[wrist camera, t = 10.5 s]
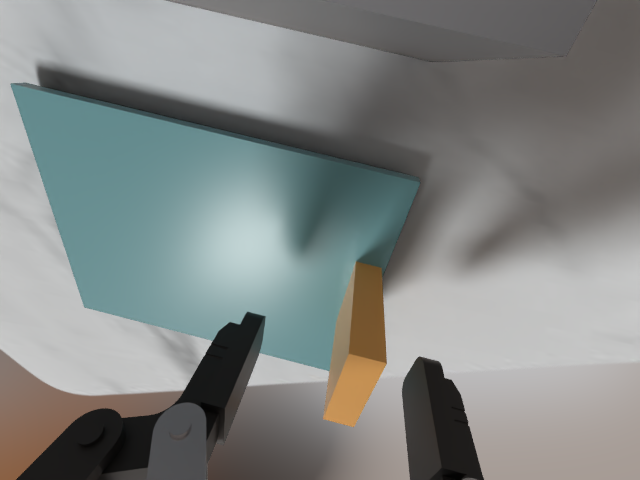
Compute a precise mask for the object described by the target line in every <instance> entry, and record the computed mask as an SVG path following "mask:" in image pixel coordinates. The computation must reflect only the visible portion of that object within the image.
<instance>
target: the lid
mask: <svg viewBox="0 0 640 480" xmlns="http://www.w3.org/2000/svg"><path fill="white" fill-rule="evenodd" d="M10 84H11V87H12V90H13V93H14V96H15V99H16V102H17V105H18V108H19V111H20V114H21V117H22V120H23V123H24V126H25V129H26V132H27V136H28V139H29V142H30V145H31V148H32V151H33V154H34V157H35V160H36V163H37V166H38V169H39V172H40V175H41V178H42V181H43V184H44V187H45V190H46V193H47V196H48V199H49V202H50V205H51V208H52V211H53V214H54V217H55V220H56V223H57V226H58V229H59V232H60V235H61V238H62V241H63V244H64V247H65V250H66V253H67V256H68V259H69V262H70V265H71V268H72V271H73V274H74V277H75V280H76V283H77V286H78V289H79V292H80V296H81V299H82V302H83V305H84V307H85V308H89V309H93V310H97V311H101V312H104V313H108V314H112V315H116V316H120V317H124V318H127V319H131V320H135V321H139V322H143V323H147V324H151V325H154V326H158V327H162V328H166V329H170V330H174V331H177V332H181V333H185V334H189V335H193V336H197V337H200V338H204V339H208V340H212V341H213V340H214V338H215V336H216V335H217V333H218V331H219V330H220V329H222V328H223V327H224V326H225V325H227V324H228V323H229V322H232V323H236V324H241V322H242V320H243V318H244V316H245V314H246V313H247V312H251V313H255V314H259V315H263V316H266V320H265V327H264V334H263V341H262V346H261V349H260V353H262V354H266V355H270V356H274V357H277V358H281V359H285V360H289V361H293V362H297V363H300V364H304V365H308V366H312V367H316V368H320V369H323V370H327V371H330V372H329V379H328V386H327V394H326V401H325V409H324V416H323V419H325V420H329V421H333V422H336V423H340V424H344V425H348V426H351V427H354V426H355V424H356V422H357V420H358V418H359V416H360V414H361V412H362V410H363V408H364V406H365V404H366V402H367V401H368V398H369V397H370V395H371V393H372V391H373V389H374V387H375V385H376V383H377V381H378V379H379V377H380V375H381V373H382V372H383V370H384V368H385V366H386V364H387V360H386V341H385V322H384V304H383V285H382V277H383V275H384V272H385V270H386V267H387V265H388V262H389V260H390V257H391V255H392V252H393V250H394V247H395V245H396V242H397V240H398V237H399V235H400V233H401V230H402V228H403V225H404V223H405V220H406V218H407V215H408V213H409V210H410V208H411V205H412V203H413V200H414V198H415V195H416V193H417V190H418V188H419V185H420V183H421V182H420V180H419V178H418V177H415V176H411V175H406V174H402V173H398V172H394V171H390V170H386V169H381V168H377V167H373V166H369V165H365V164H361V163H357V162H352V161H348V160H344V159H340V158H336V157H332V156H328V155H323V154H319V153H315V152H311V151H307V150H303V149H298V148H294V147H290V146H286V145H282V144H278V143H274V142H269V141H265V140H261V139H257V138H253V137H249V136H245V135H240V134H236V133H232V132H228V131H224V130H220V129H216V128H211V127H207V126H203V125H199V124H195V123H191V122H186V121H182V120H178V119H174V118H170V117H166V116H162V115H157V114H153V113H149V112H145V111H141V110H137V109H133V108H128V107H124V106H120V105H116V104H112V103H108V102H103V101H99V100H95V99H91V98H87V97H83V96H79V95H74V94H70V93H66V92H62V91H58V90H54V89H50V88H45V87H41V86H37V85H33V84H29V83H10Z"/></svg>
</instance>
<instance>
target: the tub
mask: <svg viewBox="0 0 640 480" xmlns="http://www.w3.org/2000/svg"><path fill="white" fill-rule="evenodd" d="M166 1H170V2H175V3H179V4H183V5H188V6H192V7H196V8H201V9H205V10H209V11H214V12H218V13H222V14H227V15H231V16H235V17H240V18H244V19H248V20H253V21H257V22H261V23H265V24H270V25H274V26H278V27H283V28H287V29H291V30H296V31H300V32H304V33H309V34H313V35H317V36H322V37H326V38H330V39H335V40H339V41H343V42H348V43H352V44H356V45H360V46H365V47H369V48H373V49H378V50H382V51H386V52H391V53H395V54H399V55H404V56H408V57H412V58H417V59H421V60H425V61H430V62H446V61H469V60H492V59H515V58H537V57H560V56H567V54H568V52H569V50H570V49H571V47H572V45H573V43H574V41H575V40H576V38H577V36H578V34H579V32H580V31H581V29H582V27H583V25H584V23H585V21H586V20H587V18H588V16H589V14H590V12H591V11H592V9H593V7H594V5H595V3H596V2H597V0H166Z"/></svg>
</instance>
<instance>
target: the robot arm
mask: <svg viewBox="0 0 640 480" xmlns="http://www.w3.org/2000/svg"><path fill="white" fill-rule="evenodd" d="M265 320H266V316H263V315H259V314H255V313H251V312H247V313H246V314H245V316H244V318H243V320H242V322H241V324H236V323H232V322H229V323H228V324H227V325H225V326H224V327H223V328H222V329H220V330H219V331H218V333H217V335H216V336H215V338H214V340H213V342H212V344H211V346H210V347H209V349H208V350H207V352H206V355H205V356H204V357H203V359H202V361H201V363H200V364H199V366H198V368H197V370H196V371H195V373H194V375H193V376H192V378H191V380H190V382H189V383H188V385H187V387H186V389H185V390H184V392H183V394H182V396H181V397H180V398H179V400H178V401H177V402H176V403H175V404H173V405H172V406H171V407H170V408H168V409H166V410H165V411H163V412H160V413H158V414H155V415H149V416H138V417H128V418H121V416H120V414H119V413H118V412H116V411H115V410H112V409H97V410H94V411H91V412H88V413H86V414H84V415H83V416H81V417H80V418H78V419H77V420H75V421H74V422H73V423H72V424H71V425H70V426H69V427H68V428H67V429H66V430H65V431H64V432H63V433H62V434H61V435H60V436H59V437H58V438H57V439H56V440H55V441H54V442H53V443H52V444H51V445H50V446H49V447H48V448H47V449H46V450H45V451H44V452H43V453H42V454H41V455H40V456H39V457H38V458H37V459H36V460H35V461H34V462H33V463H32V464H31V465H30V466H29V467H28V468H27V469H26V470H25V471H24V472H23V473H22V474H21V475H20V476H19V477H18V478H17V479H16V480H207V464H208V461H209V459H210V456H211V454H212V452H213V449H214V447H215V444H216V443H217V444H221V445H224V443H225V441H226V438H227V435H228V433H229V430H230V428H231V425H232V423H233V420H234V417H235V415H236V412H237V410H238V407H239V404H240V402H241V399H242V397H243V394H244V392H245V389H246V386H247V384H248V381H249V379H250V376H251V374H252V371H253V368H254V366H255V363H256V361H257V358H258V356H259V353H260V349H261V346H262V341H263V334H264V327H265ZM402 397H403V408H404V419H405V430H406V441H407V451H408V461H409V472H410V480H484V478H483V475H482V472H481V468H480V464H479V461H478V457H477V453H476V450H475V446H474V443H473V439H472V435H471V431H470V427H469V426H468V420H467V416H466V414H465V412H464V411H465V409H464V405H463V401H462V398H461V395H460V393H459V391H458V390H457V388H456V386H455V385H454V383H453V382H452V380H449V379H445V378H444V374H443V369H442V366H441V363H440V362H439V361H435V360H431V359H427V358H423V357H418V358H417V359H416V361H415V362H414V364H413V366H412V367H411V369H410V371H409V372H408V374H407V376H406V377H405V380H404V382H403V388H402Z"/></svg>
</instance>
